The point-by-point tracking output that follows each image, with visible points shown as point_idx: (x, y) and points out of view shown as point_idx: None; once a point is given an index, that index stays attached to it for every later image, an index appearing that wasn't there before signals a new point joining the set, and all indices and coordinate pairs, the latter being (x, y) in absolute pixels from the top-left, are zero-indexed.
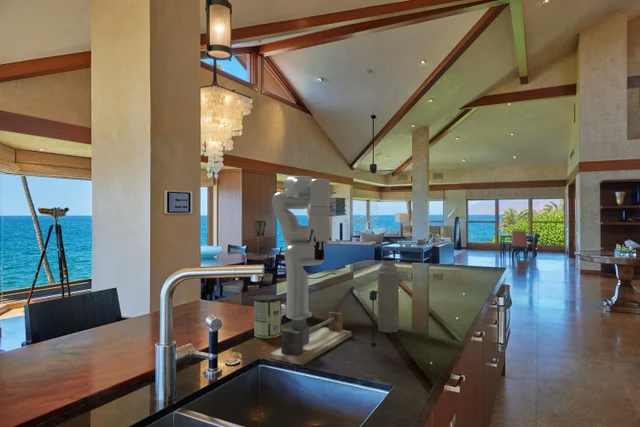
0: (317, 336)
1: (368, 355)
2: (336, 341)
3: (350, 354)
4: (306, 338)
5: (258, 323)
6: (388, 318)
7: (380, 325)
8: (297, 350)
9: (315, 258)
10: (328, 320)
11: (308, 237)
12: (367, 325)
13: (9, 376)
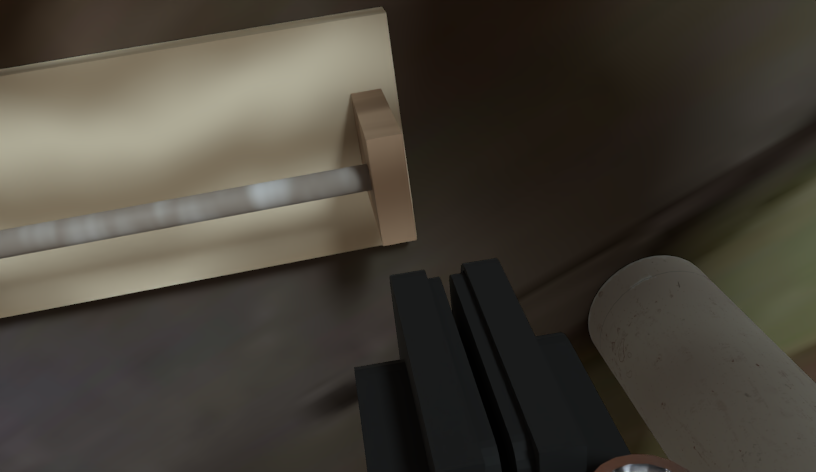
0: (160, 138)
1: (181, 465)
2: (189, 279)
3: (123, 406)
4: None
5: None
6: (627, 394)
7: (607, 317)
8: None
9: (396, 309)
10: (253, 209)
11: None
12: (681, 167)
13: None
